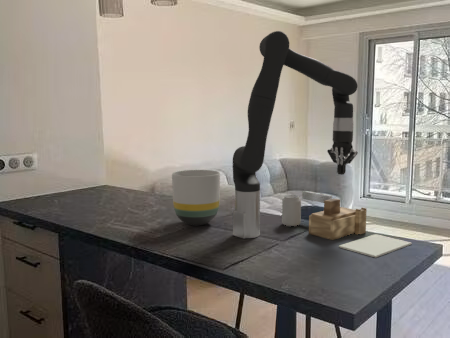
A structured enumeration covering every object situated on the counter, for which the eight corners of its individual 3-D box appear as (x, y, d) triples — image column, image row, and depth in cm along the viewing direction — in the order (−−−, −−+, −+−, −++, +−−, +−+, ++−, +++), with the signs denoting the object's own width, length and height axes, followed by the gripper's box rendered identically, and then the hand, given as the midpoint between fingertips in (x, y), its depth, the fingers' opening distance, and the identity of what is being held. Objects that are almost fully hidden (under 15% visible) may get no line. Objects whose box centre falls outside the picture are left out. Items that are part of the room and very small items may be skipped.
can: (300, 227, 174) (300, 197, 172) (281, 226, 175) (281, 197, 174) (300, 222, 181) (301, 194, 180) (282, 222, 183) (283, 193, 181)
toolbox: (336, 241, 155) (337, 215, 154) (304, 232, 166) (305, 208, 165) (366, 232, 166) (367, 208, 165) (334, 224, 177) (334, 202, 176)
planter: (229, 223, 181) (229, 172, 178) (195, 233, 167) (194, 177, 164) (197, 216, 194) (196, 168, 191) (163, 224, 180) (162, 173, 177)
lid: (330, 222, 156) (330, 204, 155) (311, 218, 163) (311, 200, 162) (359, 215, 167) (360, 197, 167) (340, 211, 174) (341, 194, 173)
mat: (375, 257, 137) (375, 255, 137) (338, 247, 148) (338, 245, 148) (411, 244, 151) (411, 242, 151) (375, 235, 162) (375, 234, 162)
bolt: (328, 203, 174) (328, 196, 174) (302, 198, 185) (302, 191, 185) (331, 203, 176) (332, 195, 175) (305, 198, 186) (305, 190, 186)
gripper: (322, 129, 170) (321, 173, 172) (351, 130, 160) (349, 177, 162) (334, 129, 175) (333, 171, 177) (363, 130, 165) (361, 175, 167)
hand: (341, 174), depth 170 cm, fingers closed
